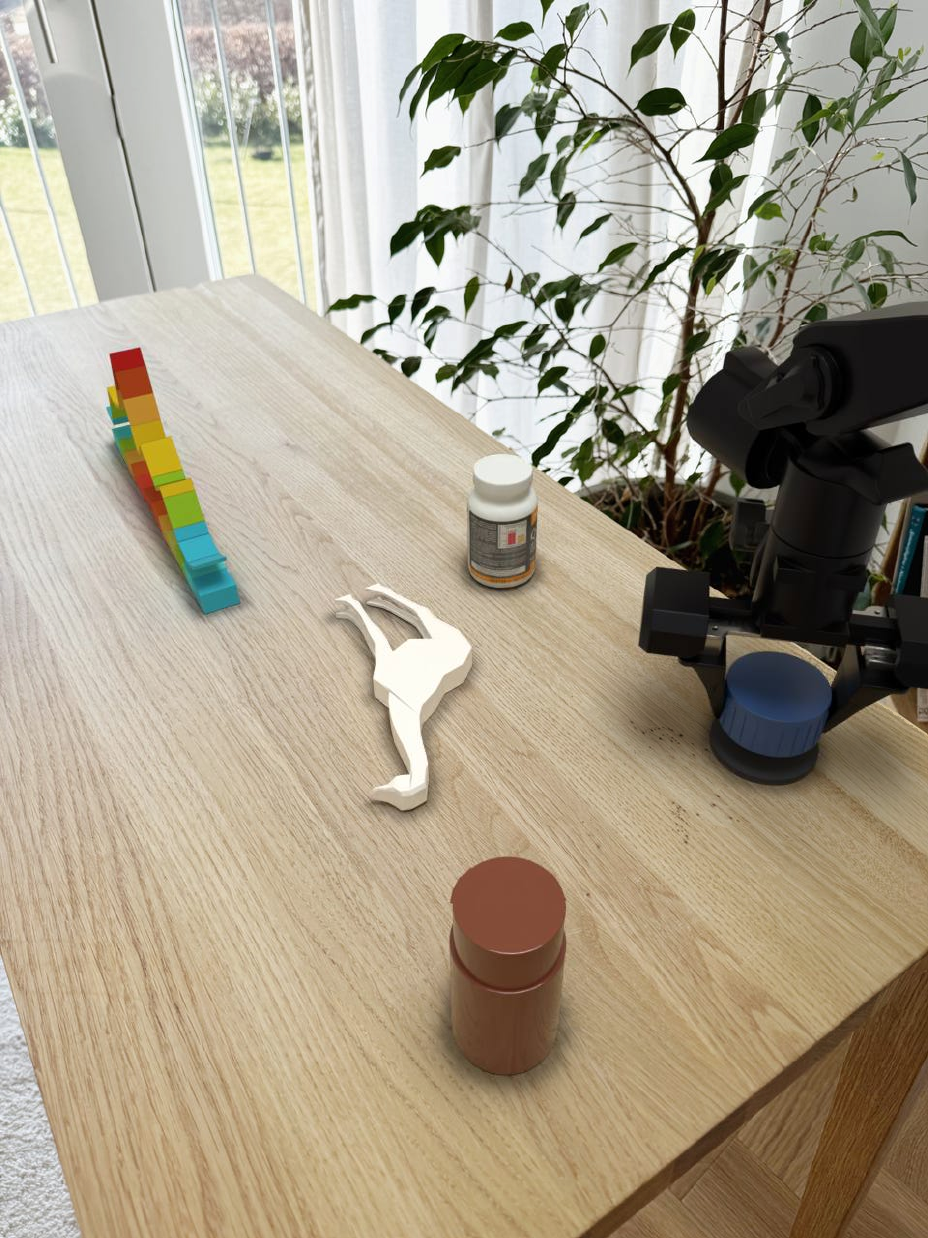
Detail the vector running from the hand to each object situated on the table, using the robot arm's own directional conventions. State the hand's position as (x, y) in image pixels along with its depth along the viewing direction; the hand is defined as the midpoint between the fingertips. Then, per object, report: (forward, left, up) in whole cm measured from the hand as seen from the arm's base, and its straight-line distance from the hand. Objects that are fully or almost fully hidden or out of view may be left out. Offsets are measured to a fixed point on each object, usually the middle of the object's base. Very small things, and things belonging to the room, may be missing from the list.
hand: (769, 721), depth 65 cm
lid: (0, 0, 0) cm, 0 cm away
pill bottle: (+21, -16, -2) cm, 27 cm away
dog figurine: (+26, 0, -2) cm, 26 cm away
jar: (+14, +23, -2) cm, 27 cm away
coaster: (0, 0, -2) cm, 2 cm away
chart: (+52, -18, -2) cm, 55 cm away
